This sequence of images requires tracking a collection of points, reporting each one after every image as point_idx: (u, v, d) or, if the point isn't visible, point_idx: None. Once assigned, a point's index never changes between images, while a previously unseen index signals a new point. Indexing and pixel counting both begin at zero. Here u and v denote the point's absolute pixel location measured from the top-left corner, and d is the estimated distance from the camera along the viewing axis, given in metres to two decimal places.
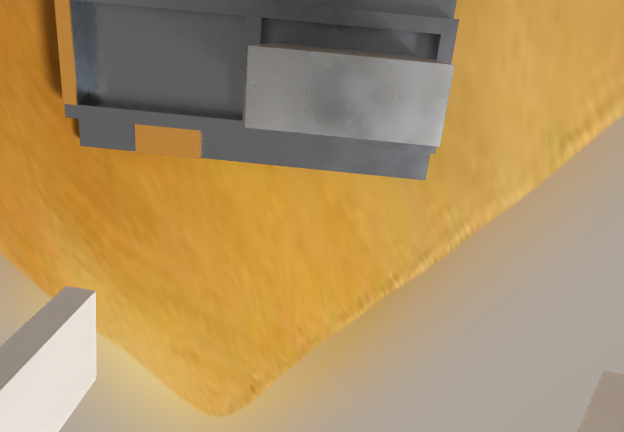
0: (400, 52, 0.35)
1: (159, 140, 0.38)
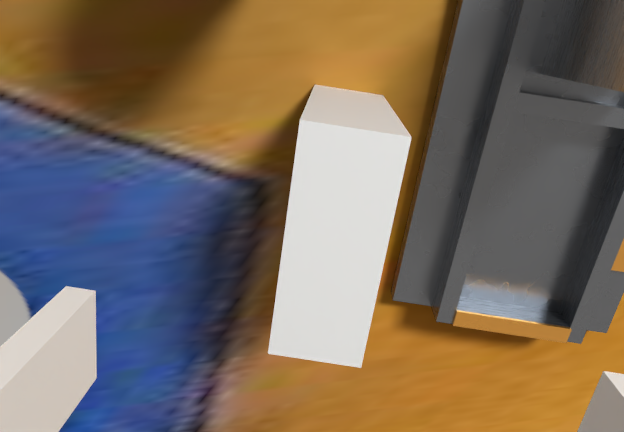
0: None
1: None
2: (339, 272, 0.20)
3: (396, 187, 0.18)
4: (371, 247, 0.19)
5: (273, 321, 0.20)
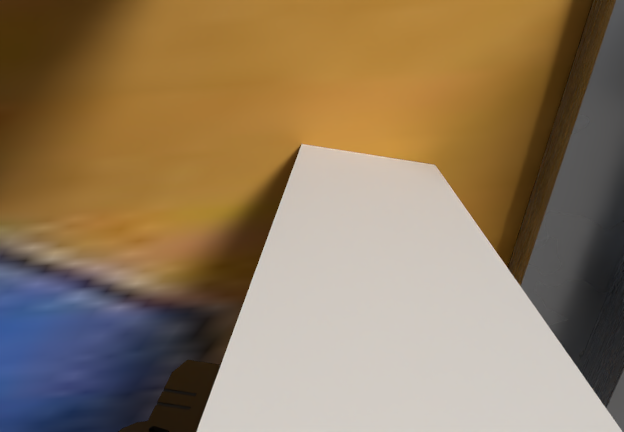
0: None
1: None
2: None
3: None
4: None
5: None
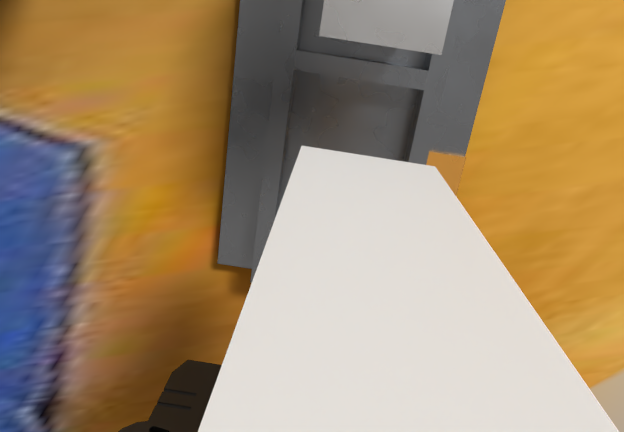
0: None
1: None
2: None
3: None
4: None
5: None
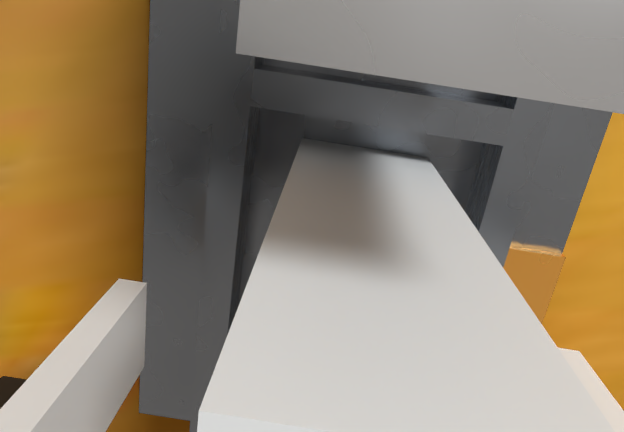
0: None
1: None
2: None
3: None
4: None
5: None
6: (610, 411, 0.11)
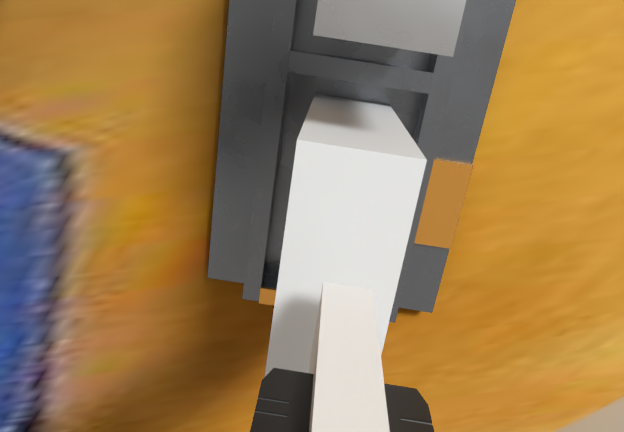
0: None
1: (439, 215, 0.28)
2: None
3: (408, 217, 0.16)
4: (379, 284, 0.17)
5: (267, 365, 0.18)
6: (364, 331, 0.12)
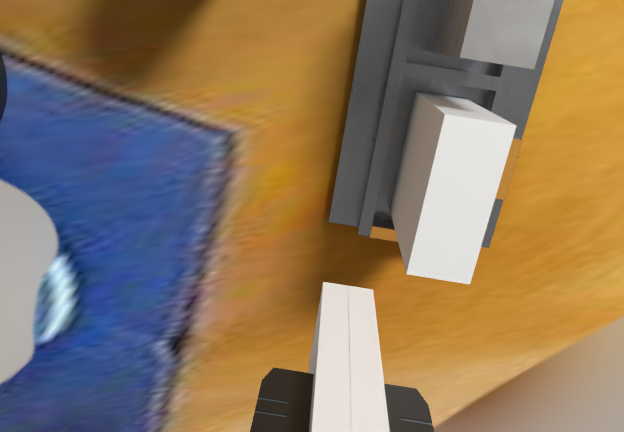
0: None
1: None
2: (461, 215, 0.29)
3: (504, 158, 0.28)
4: (484, 199, 0.29)
5: (412, 250, 0.30)
6: (364, 331, 0.12)
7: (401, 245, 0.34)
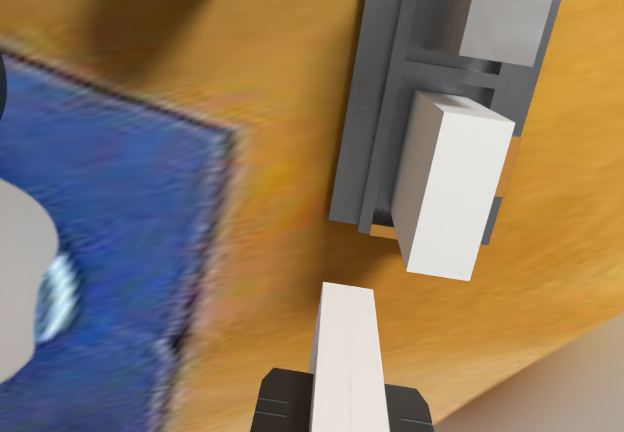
0: None
1: None
2: (460, 212, 0.30)
3: (503, 155, 0.28)
4: (483, 196, 0.29)
5: (412, 248, 0.31)
6: (364, 331, 0.12)
7: (401, 242, 0.34)
